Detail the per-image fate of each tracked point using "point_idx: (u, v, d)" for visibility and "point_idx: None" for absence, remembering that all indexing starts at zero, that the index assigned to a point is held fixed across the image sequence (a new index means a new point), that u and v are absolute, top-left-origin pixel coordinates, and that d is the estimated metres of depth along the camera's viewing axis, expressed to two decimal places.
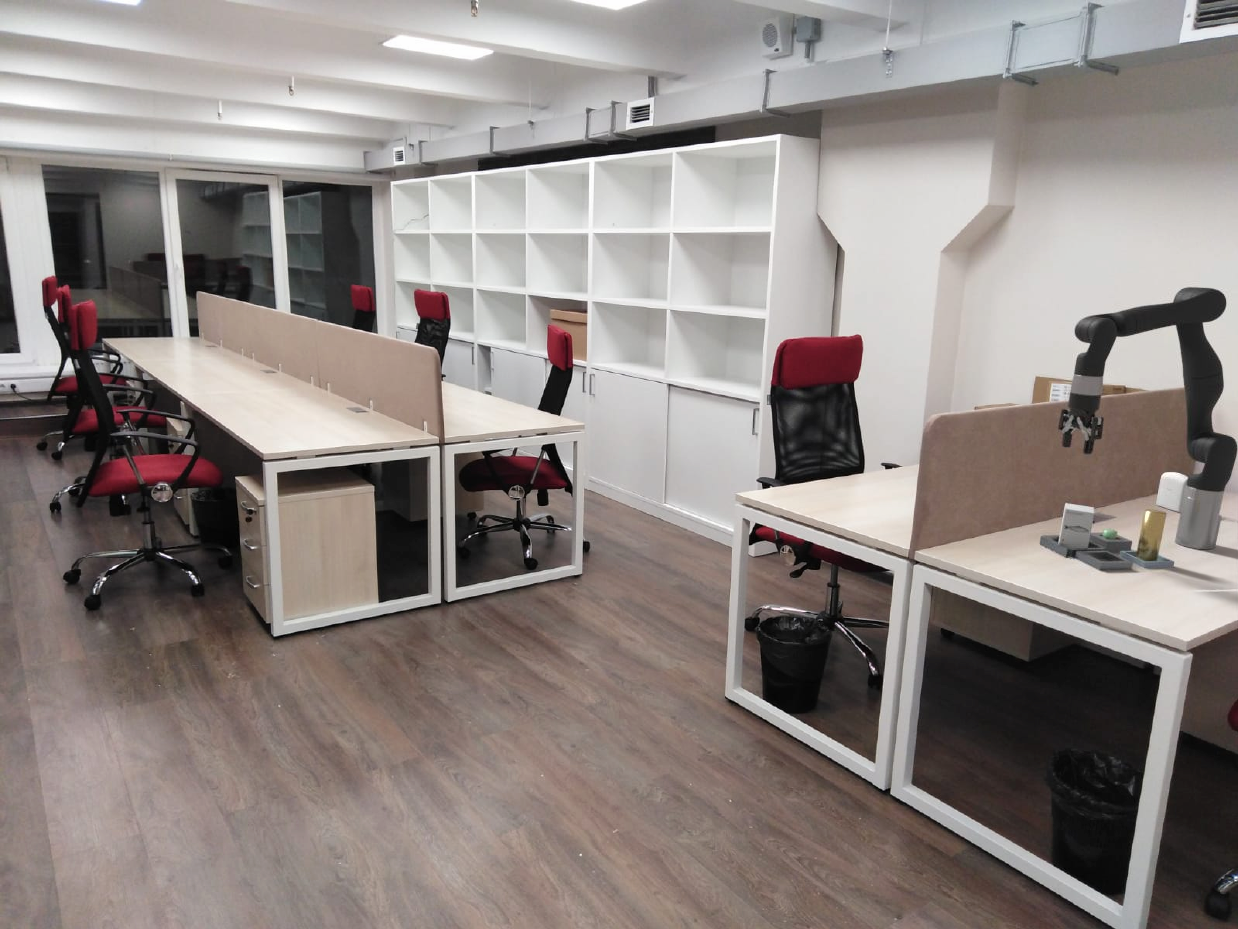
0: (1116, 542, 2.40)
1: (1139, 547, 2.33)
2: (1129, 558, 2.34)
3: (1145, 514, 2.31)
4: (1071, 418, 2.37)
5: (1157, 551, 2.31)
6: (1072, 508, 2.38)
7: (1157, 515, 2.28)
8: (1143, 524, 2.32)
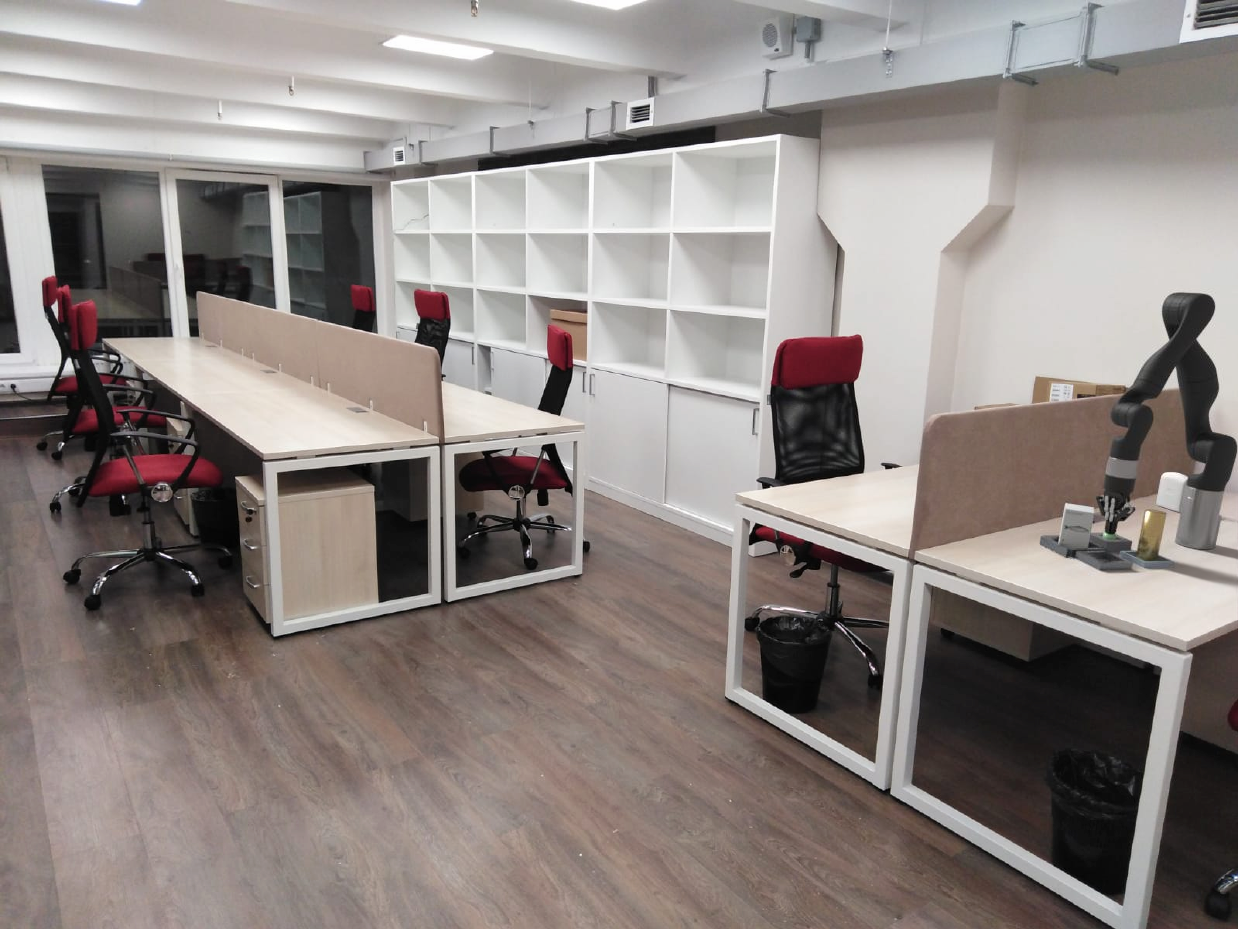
0: (1116, 542, 2.40)
1: (1139, 547, 2.33)
2: (1129, 558, 2.34)
3: (1145, 514, 2.31)
4: (1107, 499, 2.42)
5: (1157, 551, 2.31)
6: (1072, 508, 2.38)
7: (1157, 515, 2.28)
8: (1143, 524, 2.32)
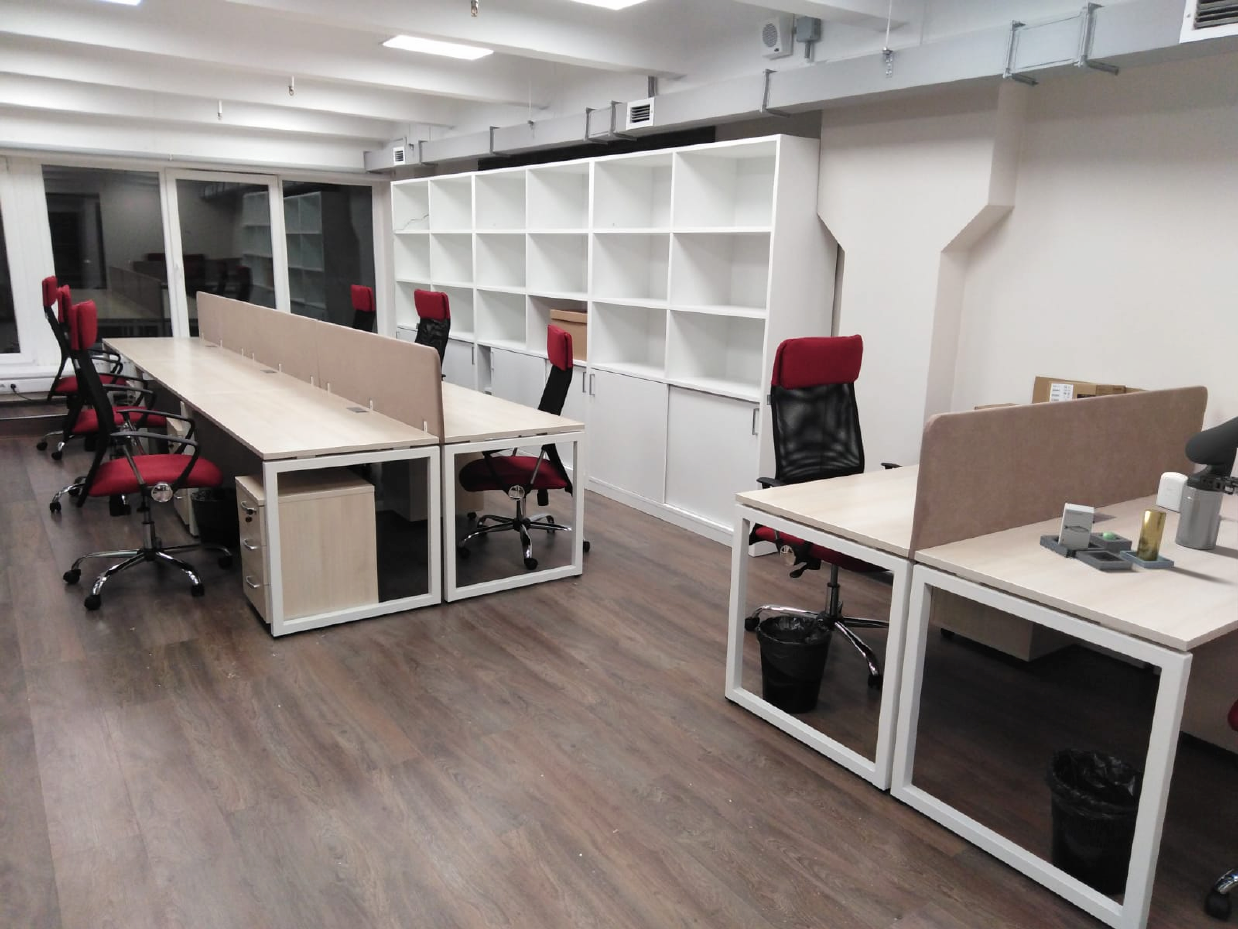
0: (1116, 542, 2.40)
1: (1139, 547, 2.33)
2: (1129, 558, 2.34)
3: (1145, 514, 2.31)
4: None
5: (1157, 551, 2.31)
6: (1072, 508, 2.38)
7: (1157, 515, 2.28)
8: (1143, 524, 2.32)
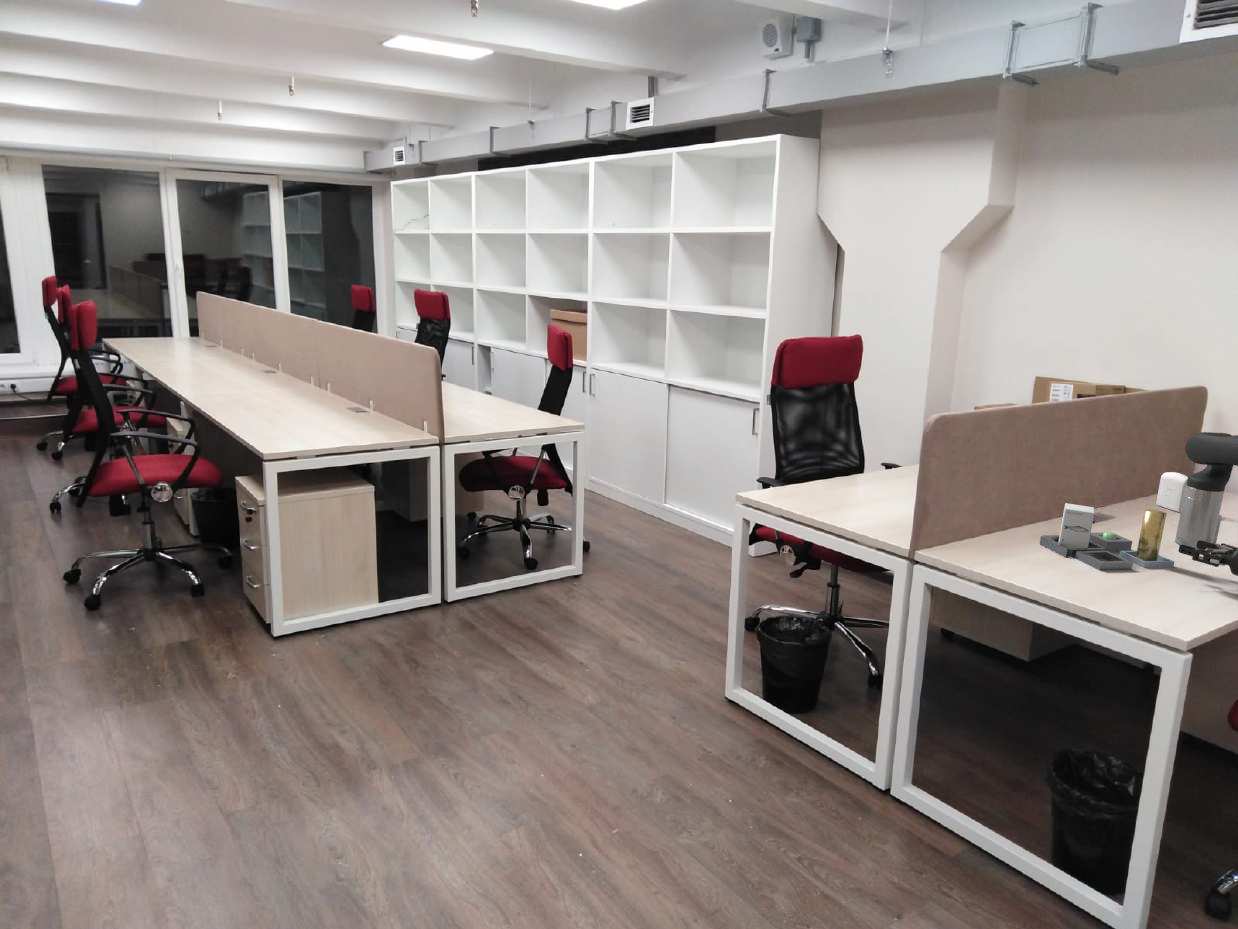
0: (1116, 542, 2.40)
1: (1139, 547, 2.33)
2: (1129, 558, 2.34)
3: (1145, 514, 2.31)
4: None
5: (1157, 551, 2.31)
6: (1072, 508, 2.38)
7: (1157, 515, 2.28)
8: (1143, 524, 2.32)
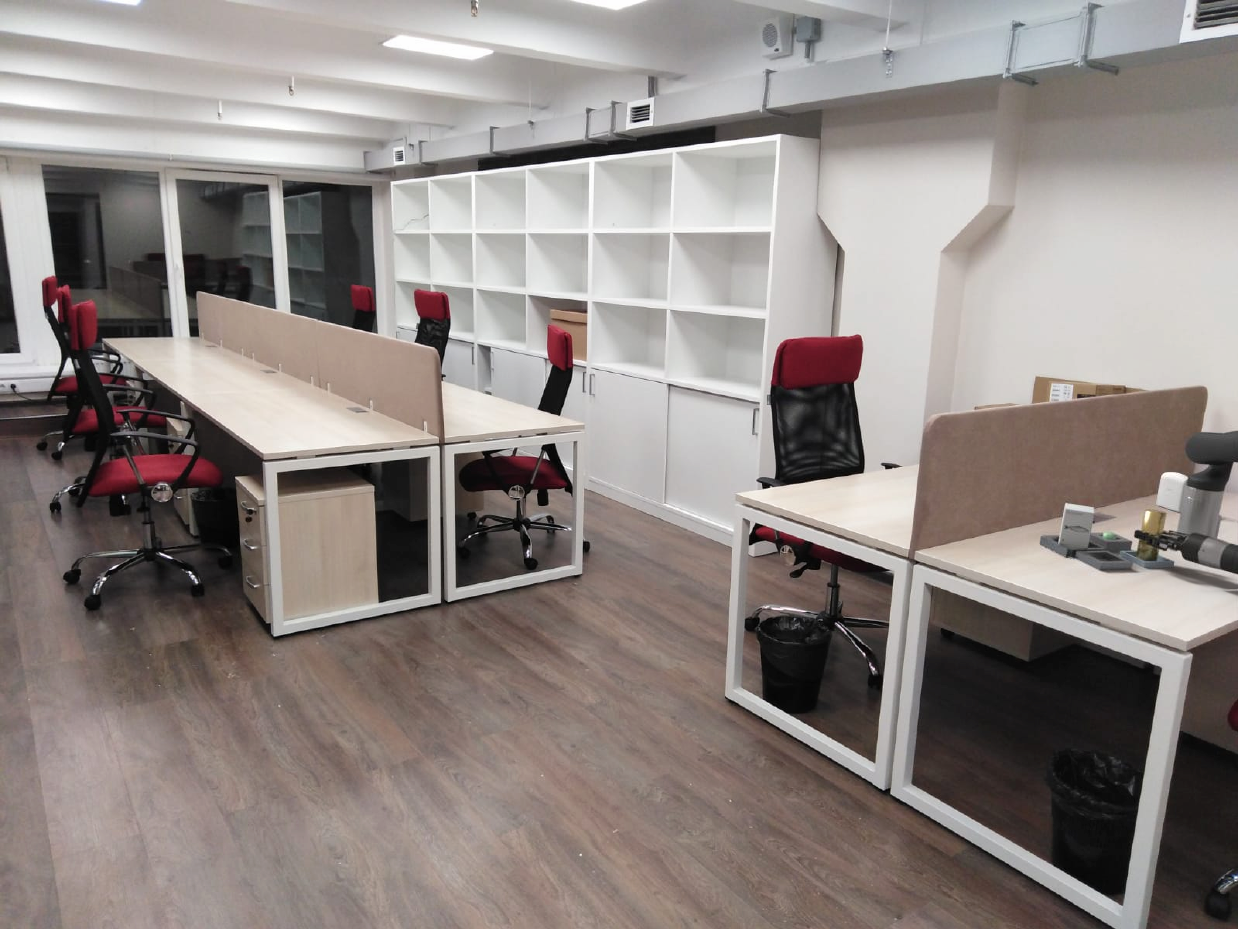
0: (1116, 542, 2.40)
1: (1139, 547, 2.33)
2: (1129, 558, 2.34)
3: (1145, 514, 2.31)
4: None
5: (1157, 551, 2.31)
6: (1072, 508, 2.38)
7: (1157, 515, 2.28)
8: (1143, 524, 2.32)
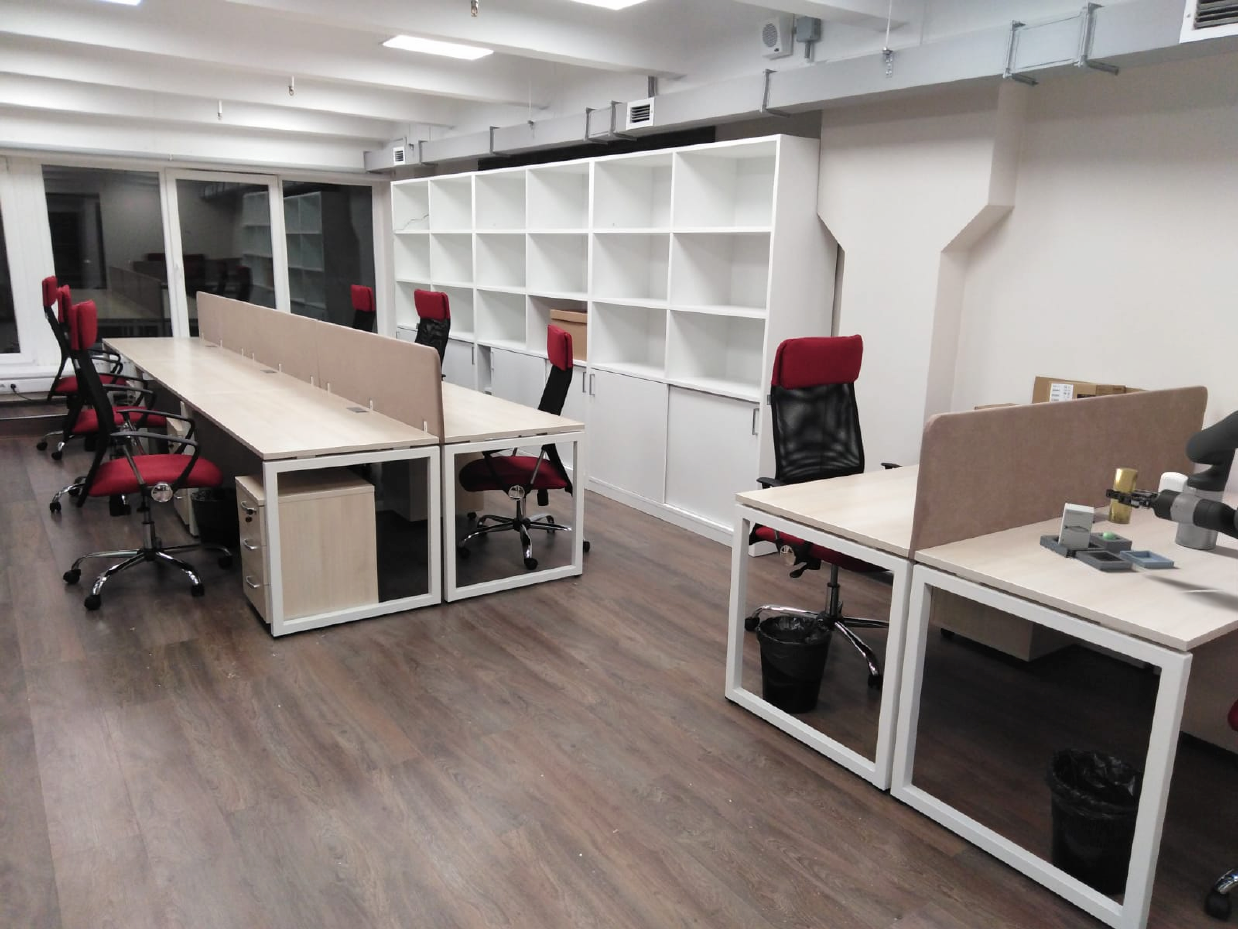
0: (1116, 542, 2.40)
1: (1111, 507, 2.26)
2: (1129, 558, 2.34)
3: (1117, 472, 2.24)
4: None
5: (1129, 510, 2.24)
6: (1072, 508, 2.38)
7: (1129, 473, 2.22)
8: (1115, 483, 2.25)
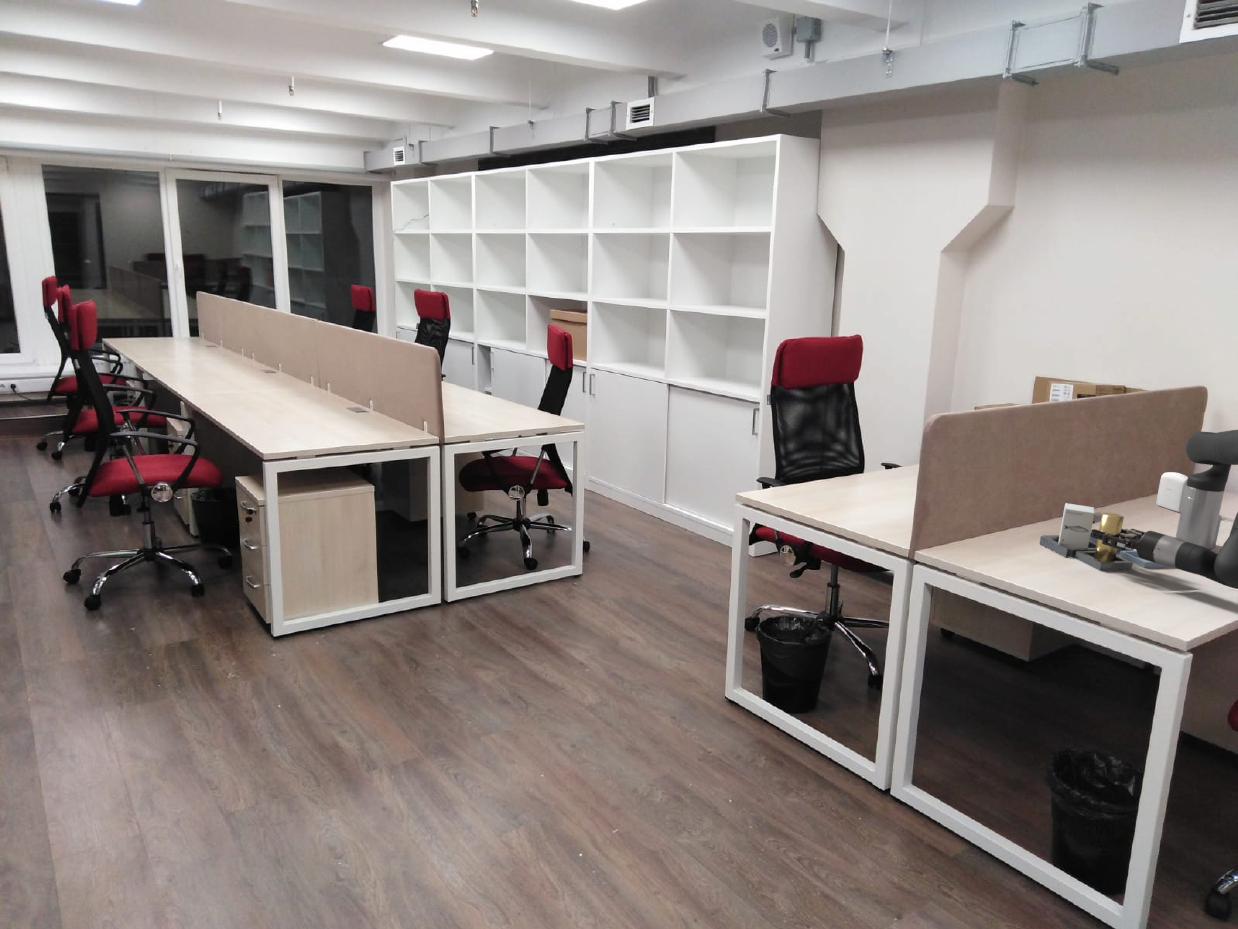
0: None
1: (1096, 551, 2.29)
2: (1129, 558, 2.34)
3: (1102, 518, 2.27)
4: None
5: (1114, 555, 2.27)
6: (1072, 508, 2.38)
7: (1114, 519, 2.25)
8: (1100, 528, 2.28)
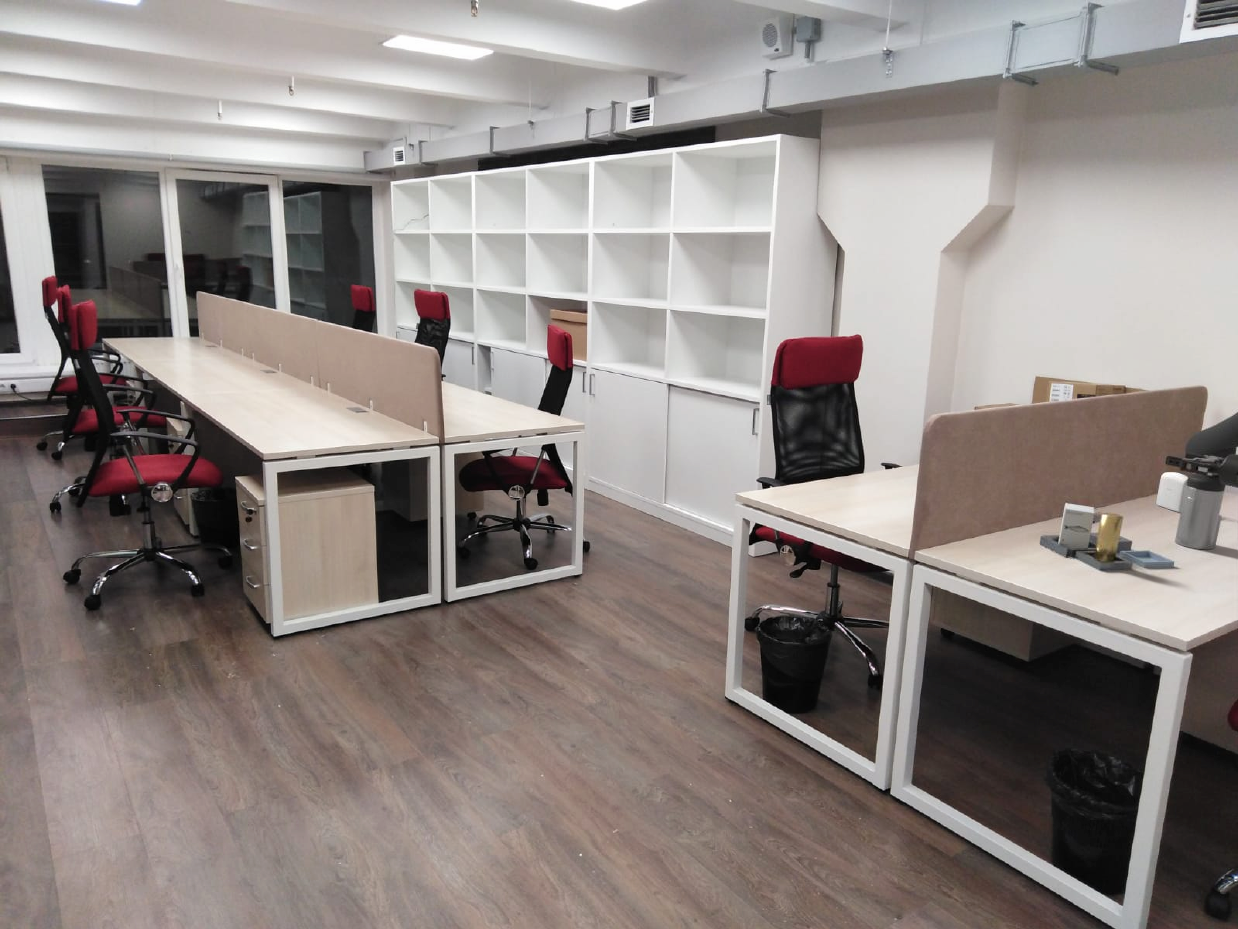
0: None
1: (1096, 551, 2.29)
2: (1129, 558, 2.34)
3: (1102, 518, 2.27)
4: (1209, 474, 2.06)
5: (1114, 555, 2.27)
6: (1072, 508, 2.38)
7: (1113, 519, 2.25)
8: (1100, 528, 2.28)
